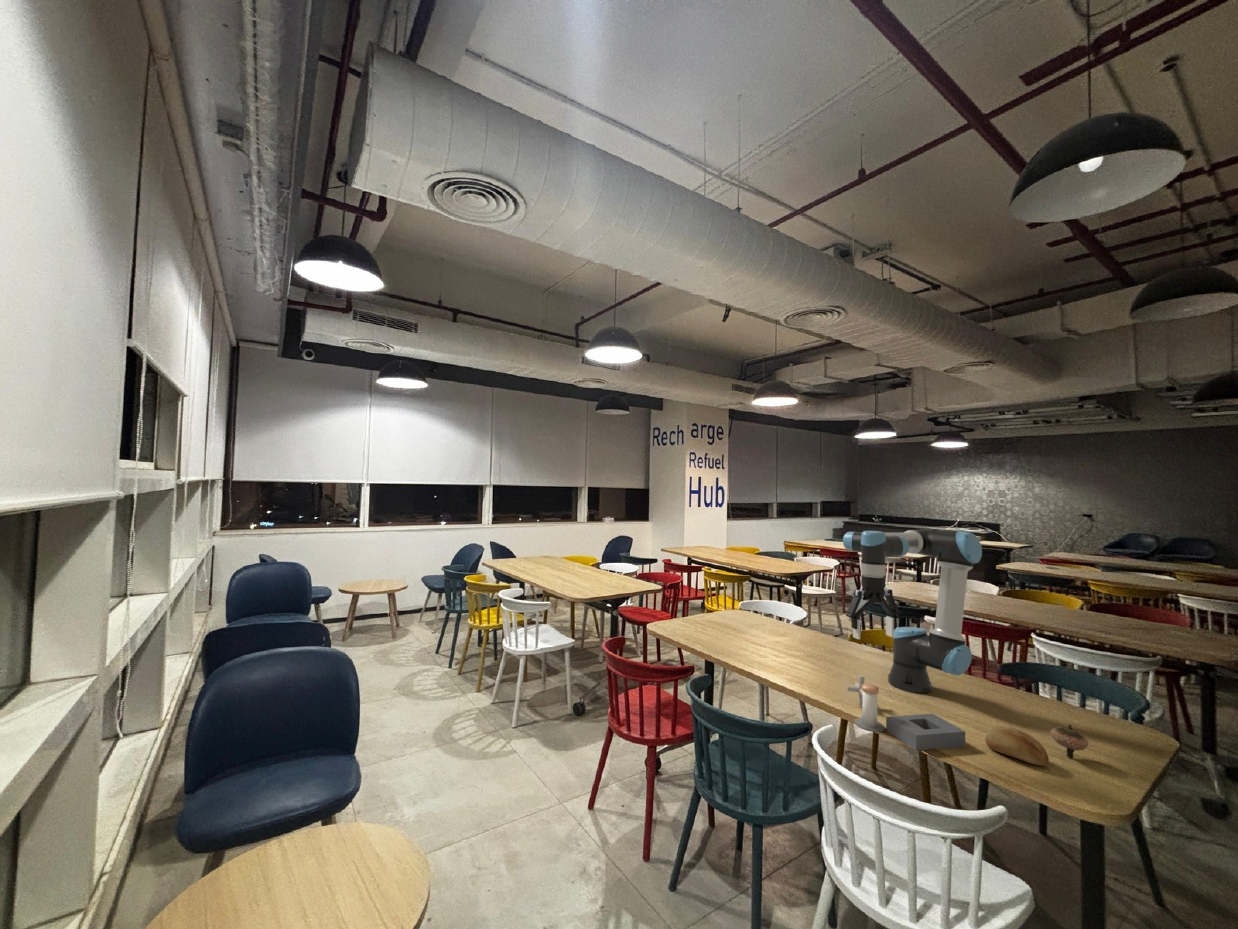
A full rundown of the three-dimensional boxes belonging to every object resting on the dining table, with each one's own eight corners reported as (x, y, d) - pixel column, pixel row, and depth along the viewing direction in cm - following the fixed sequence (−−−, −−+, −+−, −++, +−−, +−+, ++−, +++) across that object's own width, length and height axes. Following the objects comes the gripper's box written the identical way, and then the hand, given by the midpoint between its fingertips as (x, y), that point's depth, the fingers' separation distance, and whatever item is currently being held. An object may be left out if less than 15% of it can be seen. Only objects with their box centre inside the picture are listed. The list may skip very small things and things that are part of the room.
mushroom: (870, 720, 164) (871, 683, 164) (881, 727, 159) (882, 689, 160) (857, 721, 163) (858, 684, 163) (868, 728, 158) (868, 690, 159)
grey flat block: (932, 727, 161) (932, 713, 162) (965, 746, 150) (965, 731, 150) (886, 730, 158) (886, 716, 158) (915, 750, 146) (916, 735, 146)
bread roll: (1044, 775, 136) (1044, 745, 136) (980, 751, 148) (980, 724, 148) (1052, 764, 142) (1052, 736, 142) (989, 741, 154) (989, 716, 154)
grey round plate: (871, 718, 166) (871, 717, 166) (891, 731, 157) (891, 730, 157) (848, 719, 164) (848, 718, 164) (867, 733, 156) (867, 731, 156)
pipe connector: (880, 712, 172) (880, 683, 172) (850, 708, 174) (850, 679, 174) (871, 700, 181) (872, 673, 182) (843, 696, 183) (843, 669, 184)
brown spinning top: (1047, 755, 147) (1047, 721, 147) (1055, 747, 151) (1055, 715, 152) (1084, 768, 140) (1084, 733, 140) (1091, 760, 145) (1091, 726, 145)
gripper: (894, 572, 176) (895, 631, 175) (835, 574, 170) (835, 635, 169) (911, 576, 168) (912, 638, 168) (850, 578, 163) (850, 642, 162)
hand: (873, 637), depth 168 cm, fingers open, 13 cm apart
